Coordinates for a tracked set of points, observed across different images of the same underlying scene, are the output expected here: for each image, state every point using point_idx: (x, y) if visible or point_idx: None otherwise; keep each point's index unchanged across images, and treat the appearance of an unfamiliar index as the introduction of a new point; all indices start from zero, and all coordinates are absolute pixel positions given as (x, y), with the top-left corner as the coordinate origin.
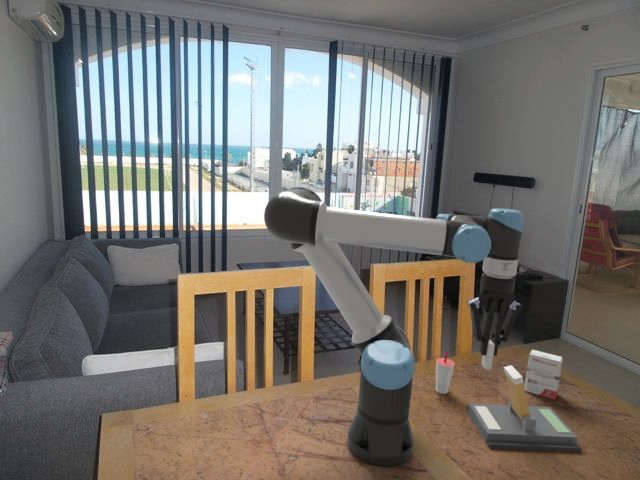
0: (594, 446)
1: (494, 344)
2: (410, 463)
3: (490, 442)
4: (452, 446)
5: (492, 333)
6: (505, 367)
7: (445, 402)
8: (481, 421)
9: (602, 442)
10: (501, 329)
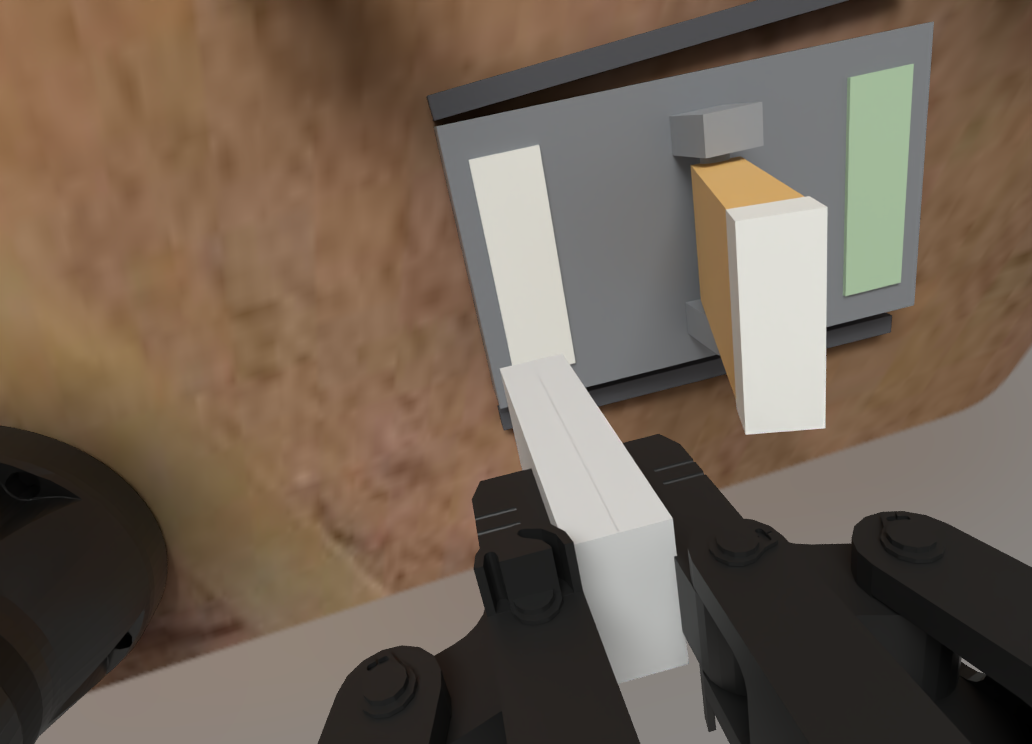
0: (959, 265)
1: (686, 657)
2: (173, 612)
3: (509, 415)
4: (340, 461)
5: (749, 685)
6: (752, 232)
7: (294, 39)
8: (487, 313)
9: (1013, 222)
10: (1029, 697)
